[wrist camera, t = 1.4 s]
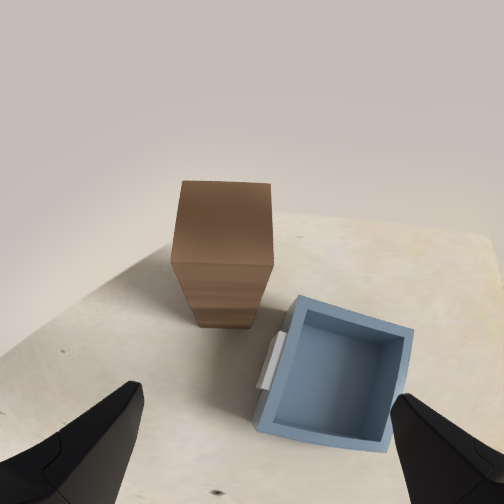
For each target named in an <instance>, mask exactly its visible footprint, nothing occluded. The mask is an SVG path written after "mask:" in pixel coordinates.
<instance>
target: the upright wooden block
mask: <svg viewBox="0 0 504 504" xmlns="http://www.w3.org/2000/svg"><path fill="white" fill-rule="evenodd" d="M171 264H172V266H173V269H174V271H175V273H176V276H177V278H178V280H179V283H180V285H181V287H182V290H183V292H184V294H185V296H186V299H187V301H188V303H189V305H190V307H191V310H192V312H193V314H194V316H195V318H196V320H197V323H198V325H199V327H202V328H228V329H250V327H251V324H252V322H253V319H254V316H255V314H256V311H257V309H258V306H259V303H260V301H261V298H262V296H263V293H264V290H265V288H266V285H267V282H268V280H269V277H270V274H271V272H272V269H273V266H274V253H273V227H272V205H271V184H267V183H247V182H222V181H183V182H182V187H181V193H180V199H179V205H178V211H177V218H176V224H175V232H174V238H173V246H172V254H171Z"/></svg>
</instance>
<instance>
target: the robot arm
mask: <svg viewBox="0 0 504 504" xmlns="http://www.w3.org/2000/svg"><path fill="white" fill-rule="evenodd" d="M143 407H144V395H143V389H142V385H141V383H139V382H135V381H128V382H126V383H125V384H124V385H122V386H121V387H120V388H118V389H117V390H115V391H114V392H113V393H111V394H110V395H109V396H107V397H106V398H104V399H103V400H102V401H100V402H99V403H97V404H96V405H95V406H93V407H92V408H90V409H89V410H88V411H86V412H85V413H83V414H82V415H80V416H79V417H78V418H76V419H75V420H73V421H72V422H70V423H69V424H68V425H66V426H65V427H63V428H62V429H60V430H59V431H57V432H56V433H54V434H53V435H52V436H50V437H48V438H47V439H45V440H44V441H42V442H41V443H39V444H37V445H35V446H33V447H31V448H30V449H28V450H26V451H24V452H21V453H19V454H17V455H15V456H13V457H11V458H9V459H7V460H5V461H2V462H0V504H115V501H116V498H117V495H118V492H119V489H120V486H121V483H122V480H123V477H124V474H125V471H126V468H127V465H128V463H129V460H130V457H131V454H132V451H133V448H134V445H135V442H136V438H137V434H138V429H139V425H140V420H141V416H142V412H143ZM390 417H391V422H392V428H393V433H394V439H395V444H396V448H397V452H398V456H399V459H400V463H401V466H402V470H403V474H404V477H405V481H406V485H407V489H408V493H409V497H410V501H411V504H504V454H502V453H500V452H498V451H496V450H494V449H492V448H491V447H489V446H487V445H485V444H484V443H482V442H481V441H479V440H478V439H476V438H475V437H473V436H471V435H470V434H468V433H467V432H465V431H464V430H462V429H461V428H459V427H458V426H456V425H455V424H454V423H452V422H451V421H449V420H448V419H446V418H445V417H443V416H442V415H440V414H439V413H437V412H436V411H434V410H433V409H431V408H430V407H429V406H427V405H426V404H424V403H423V402H421V401H420V400H418V399H417V398H415V397H414V396H413V395H411V394H409V393H405V394H400V395H398V397H397V398H396V400H395V402H394V404H393V406H392V407H391V410H390Z"/></svg>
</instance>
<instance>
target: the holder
mask: <svg viewBox="0 0 504 504" xmlns="http://www.w3.org/2000/svg"><path fill="white" fill-rule="evenodd" d="M413 335H414V329H410V328H407V327H403V326H400V325H396V324H393V323H390V322H386V321H383V320H379V319H376V318H373V317H369V316H366V315H363V314H359V313H356V312H353V311H350V310H346V309H343V308H340V307H337V306H333V305H330V304H327V303H324V302H320V301H317V300H314V299H311V298H308V297H305V296H302V295H299V296H298V297H297V298H296V300H295V301H294V302H293V304H292V305H291V306H290V308H289V309H288V310H287V312H286V315H285V319H284V322H283V325H282V329H281V331H279V332H278V333H277V334H276V335H275V336H274V337H273V338H272V339H271V342H270V345H269V349H268V352H267V355H266V358H265V361H264V364H263V367H262V370H261V373H260V376H259V379H258V382H257V385H256V388H259V389H262V391H261V394H260V397H259V400H258V403H257V406H256V409H255V412H254V415H253V418H252V420H251V423H252V424H253V426H254V428H255V429H256V431H260V432H263V433H267V434H271V435H275V436H279V437H284V438H288V439H293V440H297V441H302V442H307V443H312V444H318V445H324V446H330V447H336V448H343V449H351V450H359V451H369V452H380V453H387V450H388V447H389V444H390V440H391V437H392V434H393V428H392V422H391V417H390V410H391V407H392V406H393V404H394V402H395V400H396V398H397V397H398V395H400V394H403V391H404V386H405V382H406V377H407V372H408V366H409V361H410V355H411V348H412V342H413Z"/></svg>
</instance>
